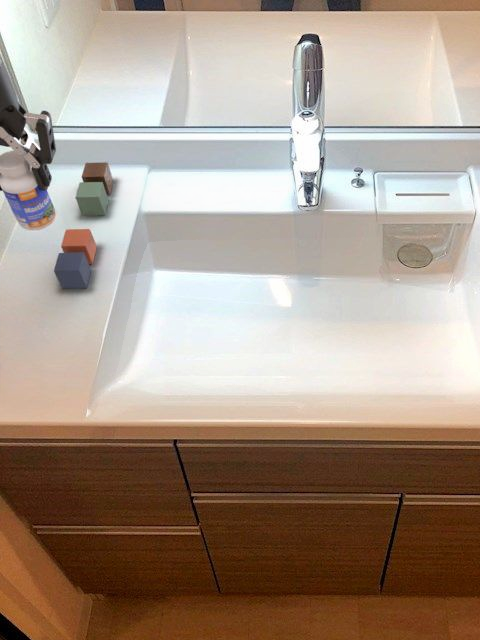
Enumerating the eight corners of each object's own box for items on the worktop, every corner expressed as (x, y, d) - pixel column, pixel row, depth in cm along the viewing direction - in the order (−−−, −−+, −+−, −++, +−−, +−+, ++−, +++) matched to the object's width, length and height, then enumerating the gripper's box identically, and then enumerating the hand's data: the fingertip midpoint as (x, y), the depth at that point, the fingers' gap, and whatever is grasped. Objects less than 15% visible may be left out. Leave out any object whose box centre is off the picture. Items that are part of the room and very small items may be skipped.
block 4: (62, 288, 101) (53, 270, 98) (67, 270, 104) (58, 252, 100) (86, 288, 101) (79, 270, 98) (91, 270, 104) (83, 252, 100)
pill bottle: (37, 236, 88) (9, 177, 80) (10, 222, 90) (-20, 163, 82) (65, 214, 91) (41, 155, 82) (38, 201, 92) (12, 142, 84)
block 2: (82, 216, 111) (75, 197, 108) (86, 201, 113) (79, 182, 110) (105, 215, 111) (98, 196, 108) (108, 200, 113) (102, 181, 110)
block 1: (88, 195, 114) (81, 176, 111) (92, 181, 116) (85, 162, 113) (110, 195, 114) (104, 176, 111) (113, 181, 116) (107, 162, 113)
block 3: (68, 264, 104) (60, 246, 101) (73, 247, 107) (65, 229, 103) (92, 264, 104) (85, 245, 101) (97, 247, 107) (90, 228, 103)
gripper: (38, 44, 74) (81, 169, 88) (-84, 45, 74) (-21, 169, 88) (21, 80, 69) (70, 205, 83) (-108, 80, 70) (-38, 205, 84)
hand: (23, 186), depth 86 cm, fingers closed on pill bottle, 5 cm apart
